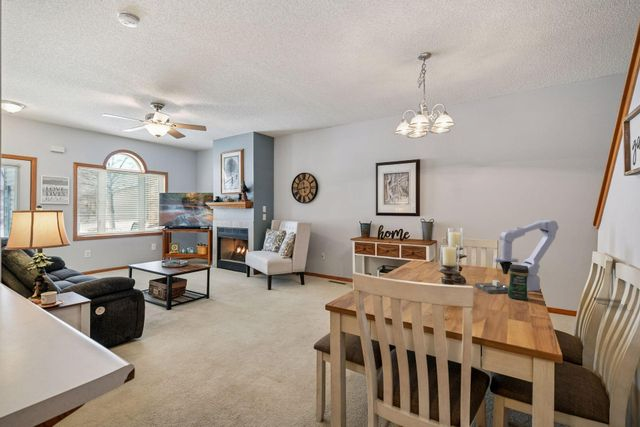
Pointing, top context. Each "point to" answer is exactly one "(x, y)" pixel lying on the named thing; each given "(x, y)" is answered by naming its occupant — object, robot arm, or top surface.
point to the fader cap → (496, 283)
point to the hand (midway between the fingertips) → (505, 273)
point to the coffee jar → (518, 282)
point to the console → (492, 288)
